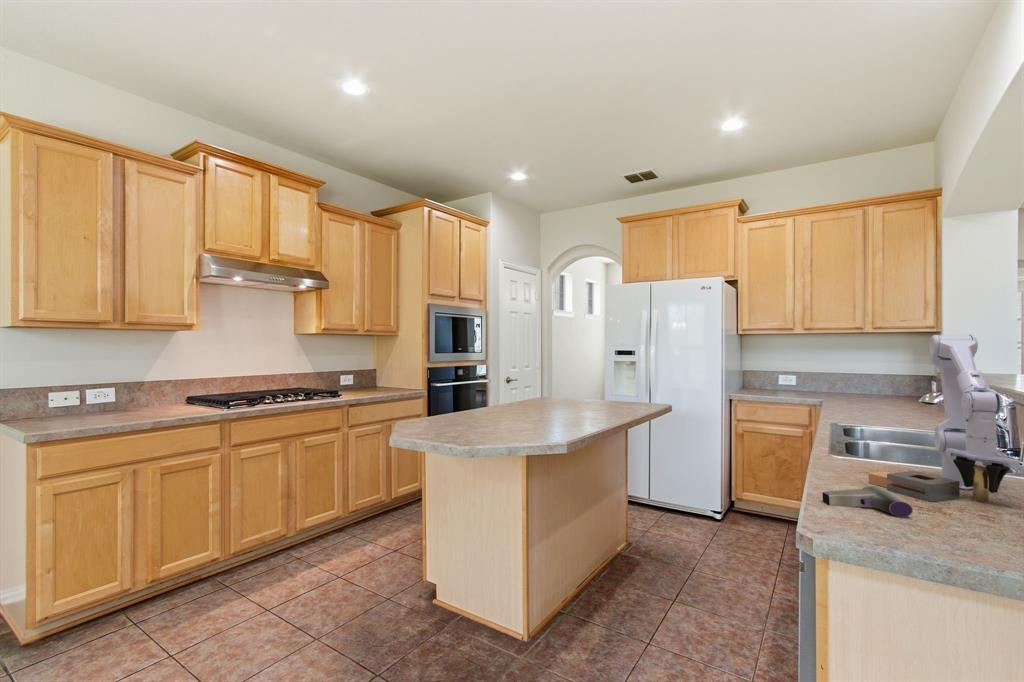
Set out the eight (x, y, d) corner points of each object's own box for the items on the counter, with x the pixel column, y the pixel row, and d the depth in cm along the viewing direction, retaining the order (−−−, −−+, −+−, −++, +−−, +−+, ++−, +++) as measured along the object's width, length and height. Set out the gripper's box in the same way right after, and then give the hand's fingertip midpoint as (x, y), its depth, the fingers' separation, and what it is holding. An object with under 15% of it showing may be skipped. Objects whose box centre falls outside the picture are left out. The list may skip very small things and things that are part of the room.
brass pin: (977, 498, 129) (977, 464, 129) (991, 501, 127) (991, 467, 127) (970, 499, 128) (970, 465, 128) (984, 502, 126) (984, 467, 126)
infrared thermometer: (820, 504, 127) (882, 502, 126) (848, 521, 115) (916, 519, 114) (819, 487, 127) (880, 485, 126) (846, 502, 115) (915, 500, 114)
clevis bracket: (913, 486, 140) (914, 470, 140) (959, 498, 129) (959, 481, 129) (886, 489, 136) (886, 473, 136) (931, 502, 126) (931, 484, 126)
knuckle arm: (885, 481, 145) (885, 471, 145) (946, 496, 131) (946, 485, 131) (868, 483, 143) (868, 473, 143) (928, 499, 128) (928, 488, 128)
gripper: (938, 433, 133) (938, 483, 133) (1006, 443, 119) (1006, 499, 119) (955, 431, 135) (955, 480, 135) (1024, 442, 122) (1024, 496, 122)
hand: (980, 489), depth 128 cm, fingers open, 5 cm apart
